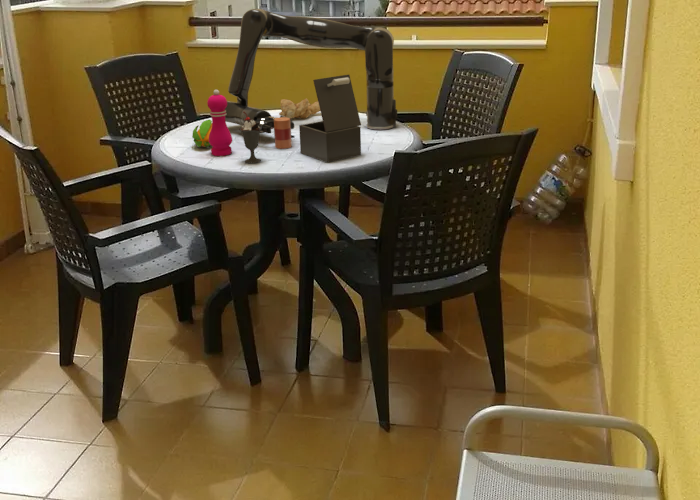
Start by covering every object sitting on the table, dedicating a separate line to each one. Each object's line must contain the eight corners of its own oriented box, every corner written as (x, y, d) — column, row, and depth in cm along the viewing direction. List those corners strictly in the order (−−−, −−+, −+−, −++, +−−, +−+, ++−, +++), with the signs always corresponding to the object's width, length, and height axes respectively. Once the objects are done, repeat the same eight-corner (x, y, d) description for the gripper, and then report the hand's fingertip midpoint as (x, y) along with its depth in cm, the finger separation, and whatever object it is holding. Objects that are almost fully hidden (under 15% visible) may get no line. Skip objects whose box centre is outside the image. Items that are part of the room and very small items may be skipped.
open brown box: (300, 153, 252) (299, 125, 249) (333, 146, 259) (332, 118, 256) (327, 162, 241) (326, 133, 238) (361, 155, 248) (360, 126, 245)
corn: (189, 127, 255) (199, 113, 273) (189, 151, 257) (199, 135, 276) (212, 128, 255) (221, 114, 273) (213, 152, 258) (221, 136, 276)
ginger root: (267, 117, 295) (269, 94, 294) (286, 118, 310) (288, 97, 308) (306, 121, 290) (308, 98, 288) (324, 122, 304) (326, 100, 303)
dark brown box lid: (313, 80, 237) (323, 75, 232) (347, 74, 244) (358, 70, 239) (325, 132, 238) (335, 128, 233) (359, 125, 245) (370, 122, 240)
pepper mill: (228, 156, 250) (223, 91, 243) (206, 156, 252) (200, 91, 244) (236, 150, 257) (231, 87, 249) (214, 150, 258) (209, 87, 251)
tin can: (289, 144, 263) (287, 116, 260) (293, 147, 259) (292, 119, 255) (273, 145, 262) (271, 118, 258) (277, 149, 257) (275, 121, 254)
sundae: (242, 158, 248) (238, 110, 242) (264, 157, 248) (260, 109, 243) (241, 164, 242) (237, 114, 236) (263, 163, 242) (260, 113, 236)
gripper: (275, 127, 276) (300, 135, 264) (238, 134, 268) (262, 143, 256) (273, 105, 273) (299, 113, 261) (236, 111, 265) (261, 119, 253)
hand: (281, 128), depth 258 cm, fingers open, 8 cm apart
